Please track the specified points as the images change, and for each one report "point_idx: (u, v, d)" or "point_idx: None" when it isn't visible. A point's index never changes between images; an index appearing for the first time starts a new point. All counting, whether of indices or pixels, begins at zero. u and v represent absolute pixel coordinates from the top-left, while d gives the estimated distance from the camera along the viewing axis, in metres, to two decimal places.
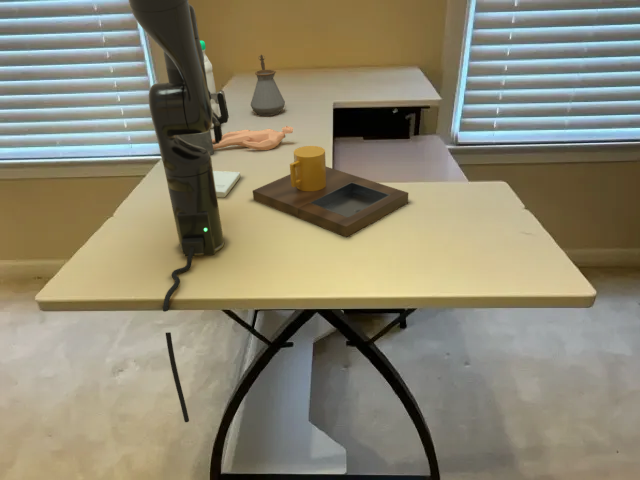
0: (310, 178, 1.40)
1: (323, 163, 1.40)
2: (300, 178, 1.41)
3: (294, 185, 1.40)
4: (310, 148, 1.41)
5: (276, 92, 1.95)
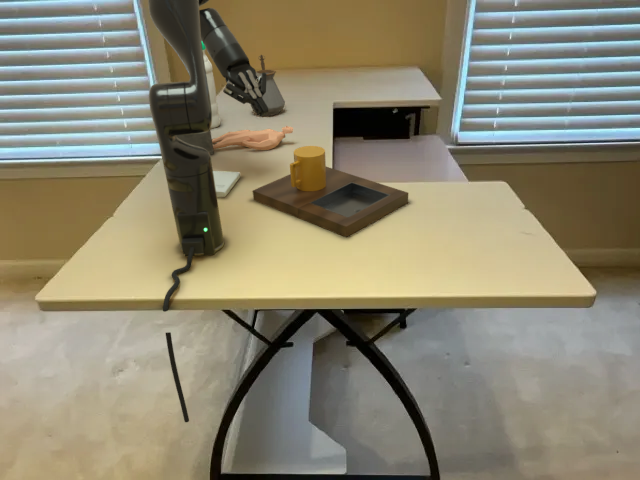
0: (310, 178, 1.40)
1: (323, 163, 1.40)
2: (300, 178, 1.41)
3: (294, 185, 1.40)
4: (310, 148, 1.41)
5: (276, 92, 1.95)
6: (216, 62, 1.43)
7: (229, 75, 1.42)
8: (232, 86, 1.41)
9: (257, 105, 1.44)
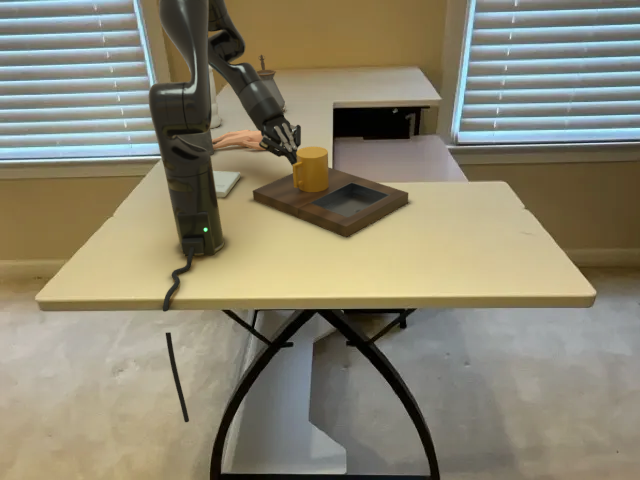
0: (312, 179, 1.40)
1: (326, 164, 1.39)
2: (302, 178, 1.40)
3: (297, 186, 1.40)
4: (313, 149, 1.41)
5: (276, 92, 1.95)
6: (251, 116, 1.43)
7: (265, 129, 1.41)
8: (268, 140, 1.41)
9: (293, 158, 1.43)
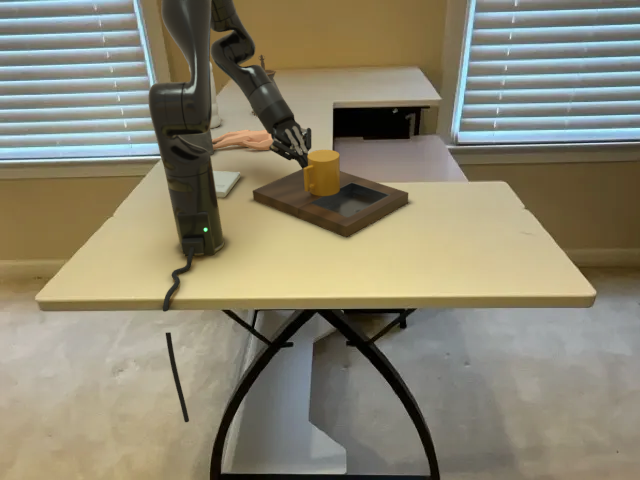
0: (324, 182, 1.38)
1: (337, 167, 1.37)
2: (313, 182, 1.38)
3: (307, 190, 1.38)
4: (325, 152, 1.39)
5: None
6: (261, 119, 1.41)
7: (275, 132, 1.39)
8: (279, 143, 1.39)
9: (303, 162, 1.41)
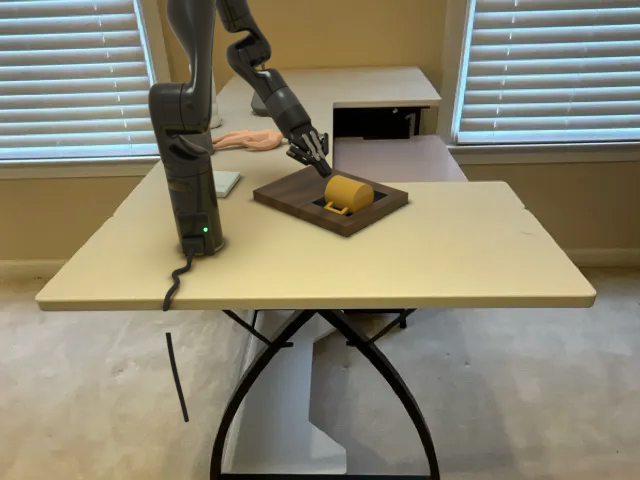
0: None
1: None
2: (335, 205, 1.35)
3: None
4: (366, 193, 1.33)
5: None
6: (278, 123, 1.37)
7: (292, 137, 1.36)
8: (296, 149, 1.35)
9: (321, 167, 1.38)
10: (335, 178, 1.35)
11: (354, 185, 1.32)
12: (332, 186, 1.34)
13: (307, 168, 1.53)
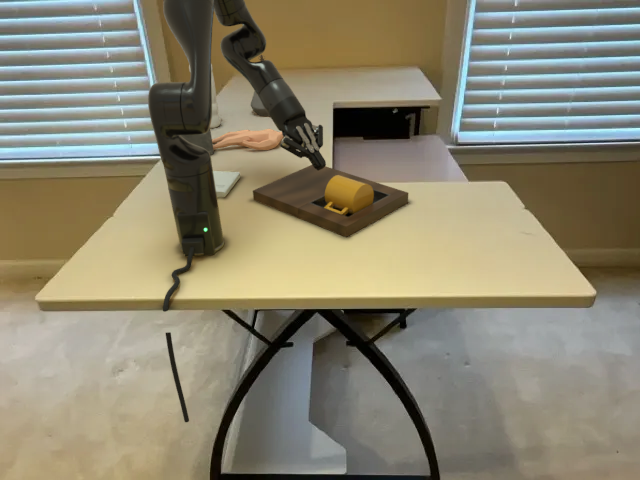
0: None
1: None
2: (335, 205, 1.35)
3: None
4: (366, 193, 1.33)
5: None
6: (272, 115, 1.38)
7: (286, 129, 1.36)
8: (290, 140, 1.36)
9: (315, 159, 1.38)
10: (335, 178, 1.35)
11: (354, 185, 1.32)
12: (332, 186, 1.34)
13: (307, 168, 1.53)
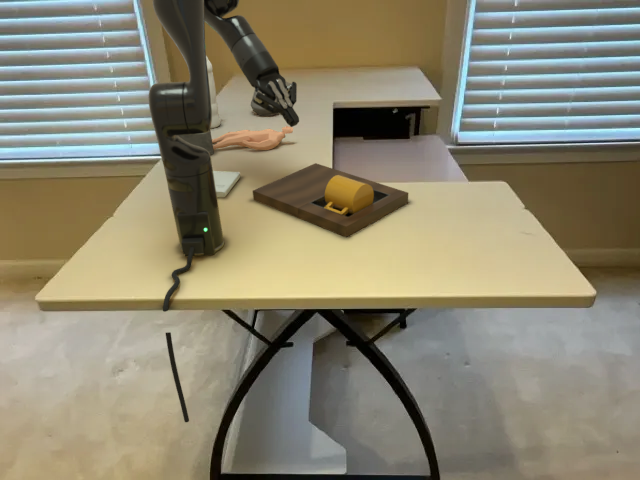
0: None
1: None
2: (335, 205, 1.35)
3: None
4: (366, 193, 1.33)
5: None
6: (245, 71, 1.37)
7: (259, 84, 1.36)
8: (262, 95, 1.35)
9: (288, 115, 1.38)
10: (335, 178, 1.35)
11: (354, 185, 1.32)
12: (332, 186, 1.34)
13: (307, 168, 1.53)
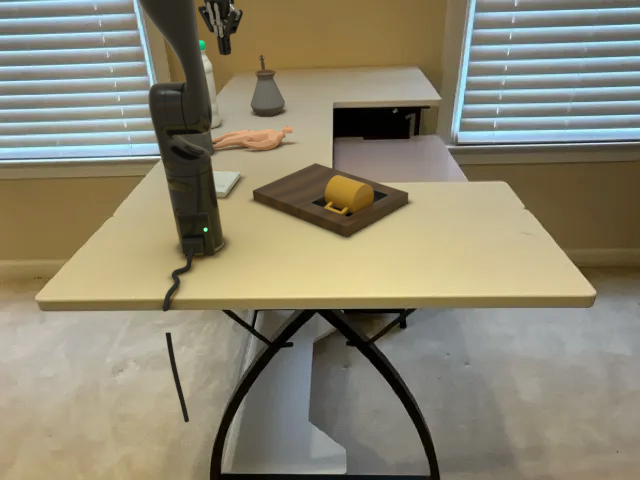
0: None
1: None
2: (335, 205, 1.35)
3: None
4: (366, 193, 1.33)
5: (276, 92, 1.95)
6: None
7: None
8: (202, 12, 1.32)
9: None
10: (335, 178, 1.35)
11: (354, 185, 1.32)
12: (332, 186, 1.34)
13: (307, 168, 1.53)
